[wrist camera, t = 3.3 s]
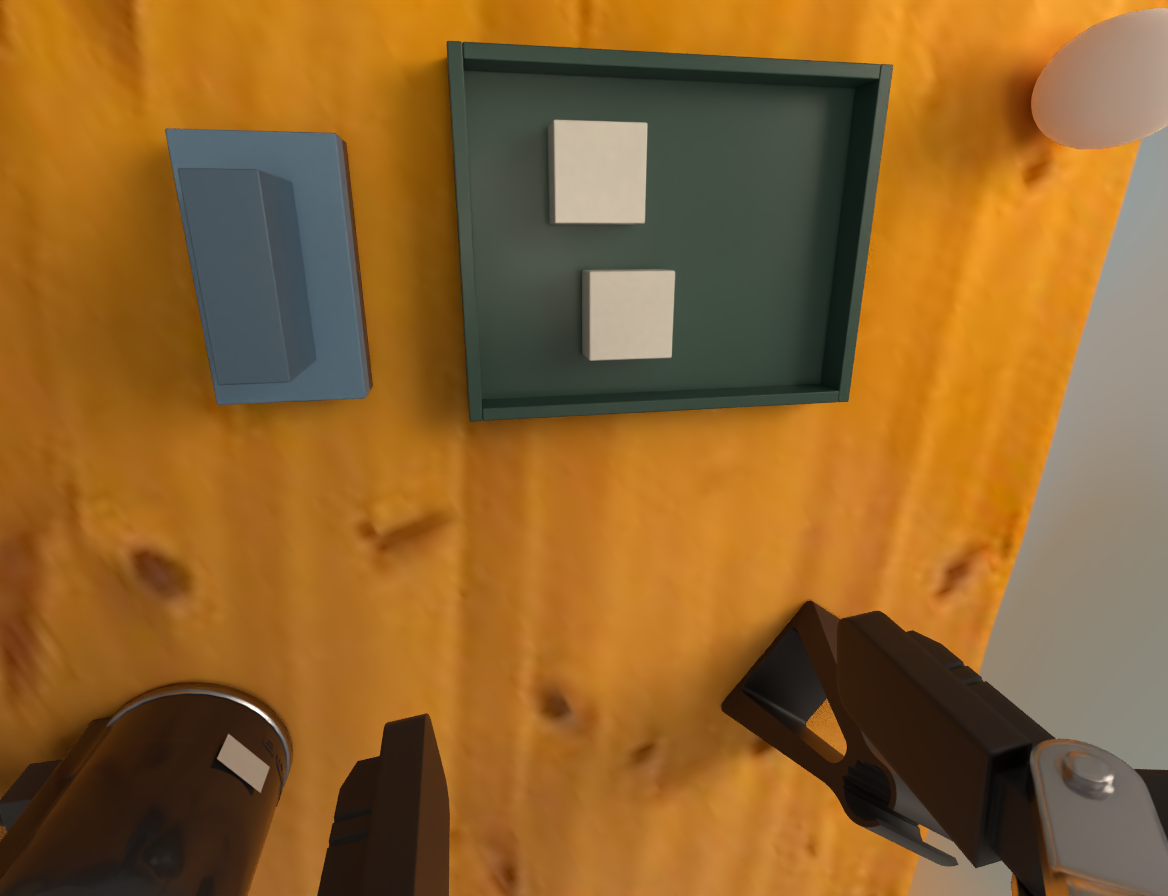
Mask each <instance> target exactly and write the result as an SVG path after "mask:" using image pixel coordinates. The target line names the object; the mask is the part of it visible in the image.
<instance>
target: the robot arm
mask: <svg viewBox="0 0 1168 896" xmlns="http://www.w3.org/2000/svg"><path fill="white" fill-rule="evenodd" d="M836 684H837V690H838V694H839V697H840V700H841V702H842V705H843V707H844V709H845V710H846V712H847V713H848V715H849V716H850V717H851V719H852V720H853V721H854V722H855V723H856V725H857V726H858V727H859V728H860V730H861V731H862V732H863V733H864V734H865V736H866V737H867V738H868V739H869V740H870V742H871V743H872V744H873V745H874V746H875V748H876V749H877V750H878V751H879V752H880V754H881V755H882V756H883V757H884V758H885V760H886V761H887V762H888V763H889V764H890V766H891V767H892V768H893V769H894V770H895V772H896V773H897V774H898V775H899V777H900V778H901V779H902V780H903V781H904V783H905V784H906V785H907V786H908V787H909V789H910V790H911V791H912V792H913V793H914V795H915V796H916V797H917V798H918V799H919V801H920V802H921V803H922V804H923V805H924V807H925V808H926V809H927V810H928V811H929V813H930V814H931V815H932V816H933V817H934V819H935V820H936V821H937V822H938V824H939V825H940V826H941V827H942V828H943V830H944V831H945V832H946V833H947V834H948V836H949V837H950V838H951V839H952V840H953V842H954V843H955V844H956V845H957V846H958V848H959V849H960V850H961V851H962V852H963V853H964V855H965V856H966V857H967V858H968V860H969V861H970V862H971V863H972V864H973V866H974V867H975V868H978V867H982V866H985V865H988V864H991V863H995V862H998V861H1001V860H1002V861H1003V862H1004V863H1005V865H1006V866H1007V867H1008V868H1009V869H1010V870H1011V871H1012V872H1013V874H1012V881H1011V890H1012V896H1168V770H1148V769H1147V770H1146V769H1145V770H1144V769H1133V768H1132V767H1130V766H1129V765H1128V764H1127V763H1126V762H1124V761H1123V760H1121V759H1120V758H1118V757H1117V756H1115V755H1113V754H1112V753H1109V752H1108V751H1106V750H1103V749H1101V748H1099V747H1097V746H1094V745H1091V744H1088V743H1085V742H1081V741H1076V740H1070V739H1056V738H1054V737H1053V736H1052V735H1051V734H1049V733H1048V732H1047V731H1046V730H1044V729H1043V728H1042V727H1041V726H1040V725H1039V724H1037V723H1036V722H1035V721H1034V720H1032V719H1031V718H1030V717H1029V716H1028V715H1026V714H1025V713H1024V712H1023V711H1022V710H1020V709H1019V708H1018V707H1017V706H1015V705H1014V704H1013V703H1012V702H1011V701H1010V700H1008V699H1007V698H1006V697H1005V696H1003V695H1002V694H1001V693H1000V692H999V691H997V690H996V689H995V688H994V687H993V686H991V685H990V684H989V683H988V682H986V681H985V682H983V680H982V678H981V676H979V675H978V674H977V673H976V672H975V671H973V670H972V669H971V668H970V667H969V666H964V664H963V662H962V661H961V660H960V659H959V658H958V657H956V656H955V655H954V654H953V653H952V652H950V651H949V650H948V649H947V648H946V647H944V646H943V645H942V644H940V643H938V642H936V641H934V640H932V639H930V638H928V637H926V636H923V635H921V634H919V633H917V632H915V631H913V630H912V631H908V632H905V631H904V630H903V629H902V628H900V627H899V626H898V625H897V624H896V623H895V622H893V621H892V620H891V619H890V618H889V617H888V616H887V615H885V614H884V613H882V612H880V611H873V612H868V613H864V614H860V615H856V616H851V617H847V618H843V619H841V620H840V621H839V623H838V626H837V665H836ZM291 763H292V744H291V740H290V736H289V734H288V731H287V729H286V727H285V725H284V724H283V722H282V721H281V719H280V718H279V717H278V716H277V715H276V713H275V712H274V711H273V710H271V709H270V708H269V707H268V706H267V705H265V704H264V703H263V702H261V701H260V700H258V699H257V698H255V697H253V696H251V695H249V694H247V693H245V692H242V691H240V690H237V689H234V688H230V687H226V686H222V685H216V684H208V683H184V684H176V685H170V686H166V687H162V688H158V689H155V690H152V691H150V692H147V693H145V694H143V695H141V696H139V697H137V698H135V699H134V700H132V701H130V702H129V703H127V704H126V705H125V706H124V707H122V708H121V709H120V710H119V711H118V712H117V713H116V714H115V715H114V716H113V717H110V718H106V719H99V720H94V721H92V722H91V723H90V724H89V725H88V726H87V728H86V729H85V730H84V732H83V733H82V734H81V736H80V737H79V738H78V740H77V741H76V742H75V744H74V745H73V746H72V748H71V749H70V750H69V751H68V753H67V754H66V755H65V757H64V758H63V759H62V760H56V761H48V762H41V763H33V764H30V765H29V766H28V767H27V768H26V769H25V771H24V772H23V773H22V774H21V776H20V777H19V778H18V779H17V780H16V782H15V783H14V784H13V785H12V787H11V788H10V789H9V790H8V791H7V793H6V794H5V795H4V796H3V798H2V799H1V800H0V826H5V827H6V829H7V833H6V834H5V836H4V837H3V838H2V840H1V841H0V896H248V893H249V890H250V886H251V883H252V880H253V877H254V874H255V871H256V868H257V865H258V862H259V858H260V855H261V852H262V849H263V846H264V843H265V840H266V837H267V833H268V830H269V827H270V824H271V821H272V818H273V815H274V812H275V808H276V807H277V804H278V801H279V799H280V796H281V792H282V789H283V787H284V785H285V783H286V780H287V777H288V774H289V771H290V767H291ZM449 829H450V812H449V798H448V790H447V783H446V778H445V774H444V770H443V766H442V762H441V758H440V754H439V750H438V746H437V742H436V738H435V734H434V730H433V726H432V723H431V719H430V716H429V715H428V714H422V715H418V716H414V717H409V718H405V719H401V720H396V721H392V722H388V723H386V724H385V727H384V731H383V738H382V745H381V751H380V756H378V757H374V758H370V759H365V760H361V761H357V763H356V765H355V766H354V768H353V769H352V771H351V772H350V774H349V776H348V777H347V779H346V780H345V782H344V783H343V785H342V786H341V788H340V791H339V796H338V801H337V805H336V810H335V815H334V823H333V824H332V829H331V834H330V838H329V848H327V853H326V857H325V862H324V867H323V871H322V876H321V881H320V886H319V890H318V895H317V896H449Z"/></svg>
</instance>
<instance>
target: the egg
mask: <svg viewBox="0 0 1168 896" xmlns="http://www.w3.org/2000/svg"><path fill="white" fill-rule="evenodd" d="M1031 110H1032V115H1033V119H1034V120H1035V122H1036V124H1037V126H1038V128H1039V129H1040V131H1041V132H1042V133H1043V134H1044V135H1045V136H1047V137H1048V138H1050V139H1051V140H1053V141H1055V142H1057V143H1058V144H1060V145H1064V146H1068V147H1072V148H1076V149H1103V148H1108V147H1114V146H1120V145H1124V144H1127V143H1130V142H1133V141H1136V140H1139V139H1142V138H1145V137H1148V136H1149V135H1152V134H1153V133H1155V132H1157V131H1159V130H1161V129H1163V128H1165V127H1166V126H1168V9H1165V8H1156V9H1149V10H1142V11H1136V12H1130V13H1126V14H1123V15H1120V16H1117V17H1114V18H1111V19H1108V20H1105V21H1103V22H1100V23H1098V24H1096V25H1094V26H1091V27H1090V28H1088V29H1087V30H1085V31H1084V32H1082V33H1081V34H1079V35H1078V36H1076V37H1075V38H1073V39H1072V40H1070V41H1069V42H1068V43H1066V44H1065V45H1064V46H1063V47H1062V48H1061V49H1060V50H1059V51H1058V52H1057V53H1056V54H1055V55H1054V56H1053V57H1052V58H1051V60H1050V61H1049V62H1048V64H1047V65H1046V66H1045V68H1044V69H1043V71H1042V72H1041V74H1040V76H1039V78H1038V79H1037V81H1036V84H1035V87H1034V90H1033V93H1032V99H1031Z"/></svg>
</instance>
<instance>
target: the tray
mask: <svg viewBox="0 0 1168 896" xmlns="http://www.w3.org/2000/svg"><path fill="white" fill-rule="evenodd" d="M447 61H448V77H449V93H450V110H451V126H452V142H453V159H454V175H455V192H456V208H457V224H458V241H459V257H460V273H461V290H462V306H463V322H464V339H465V355H466V371H467V388H468V404H469V419H470V421H482V420H483V421H489V420H508V419H527V418H546V417H565V416H584V415H603V414H622V413H641V412H660V411H679V410H698V409H717V408H736V407H755V406H774V405H793V404H812V403H831V402H848V400H849V393H850V385H851V378H852V370H853V363H854V355H855V348H856V340H857V333H858V325H859V318H860V310H861V303H862V295H863V288H864V280H865V273H866V265H867V258H868V250H869V243H870V235H871V228H872V220H873V213H874V205H875V198H876V190H877V183H878V175H879V168H880V160H881V153H882V145H883V138H884V130H885V123H886V115H887V108H888V100H889V93H890V85H891V78H892V70H893V65H888V64H881V65H880V64H866V63H848V62H829V61H811V60H792V59H774V58H755V57H736V56H718V55H699V54H681V53H662V52H644V51H625V50H607V49H588V48H569V47H551V46H532V45H514V44H495V43H477V42H463V44H462V42H459V41H447ZM553 120H582V121H613V122H643V123H647V160H646V198H645V223H644V224H634V225H612V224H550V223H549V170H548V127H549V125H550V124H551V123H552V122H553ZM608 269H667V270H674V271H675V287H674V311H673V335H672V356H671V358H654V359H626V360H599V361H590V360H589V359H587V358H586V357H585V356H584V355H583V353H582V271H583V270H608Z"/></svg>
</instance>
